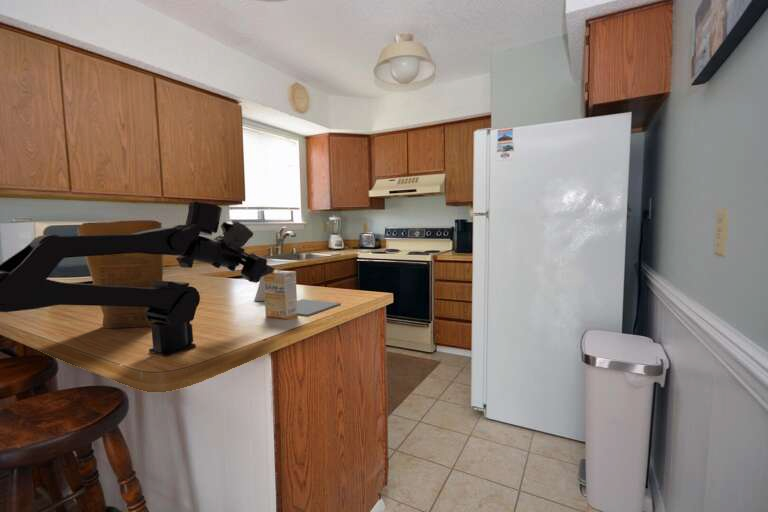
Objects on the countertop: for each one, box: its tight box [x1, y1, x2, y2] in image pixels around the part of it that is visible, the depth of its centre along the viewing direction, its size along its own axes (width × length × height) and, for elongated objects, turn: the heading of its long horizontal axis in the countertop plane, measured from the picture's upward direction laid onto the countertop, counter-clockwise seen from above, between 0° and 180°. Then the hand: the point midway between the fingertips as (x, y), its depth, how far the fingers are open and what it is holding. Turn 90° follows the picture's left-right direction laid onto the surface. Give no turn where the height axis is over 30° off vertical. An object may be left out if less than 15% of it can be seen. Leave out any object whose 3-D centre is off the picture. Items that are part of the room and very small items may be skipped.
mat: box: [297, 298, 342, 317], centre depth 109 cm, size 16×16×1 cm
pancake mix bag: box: [77, 219, 164, 330], centre depth 91 cm, size 7×19×28 cm, turn 95°
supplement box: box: [264, 269, 298, 320], centre depth 98 cm, size 8×5×13 cm, turn 62°
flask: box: [254, 276, 265, 302], centre depth 122 cm, size 7×7×10 cm
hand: (263, 264), depth 93 cm, fingers open, 9 cm apart
